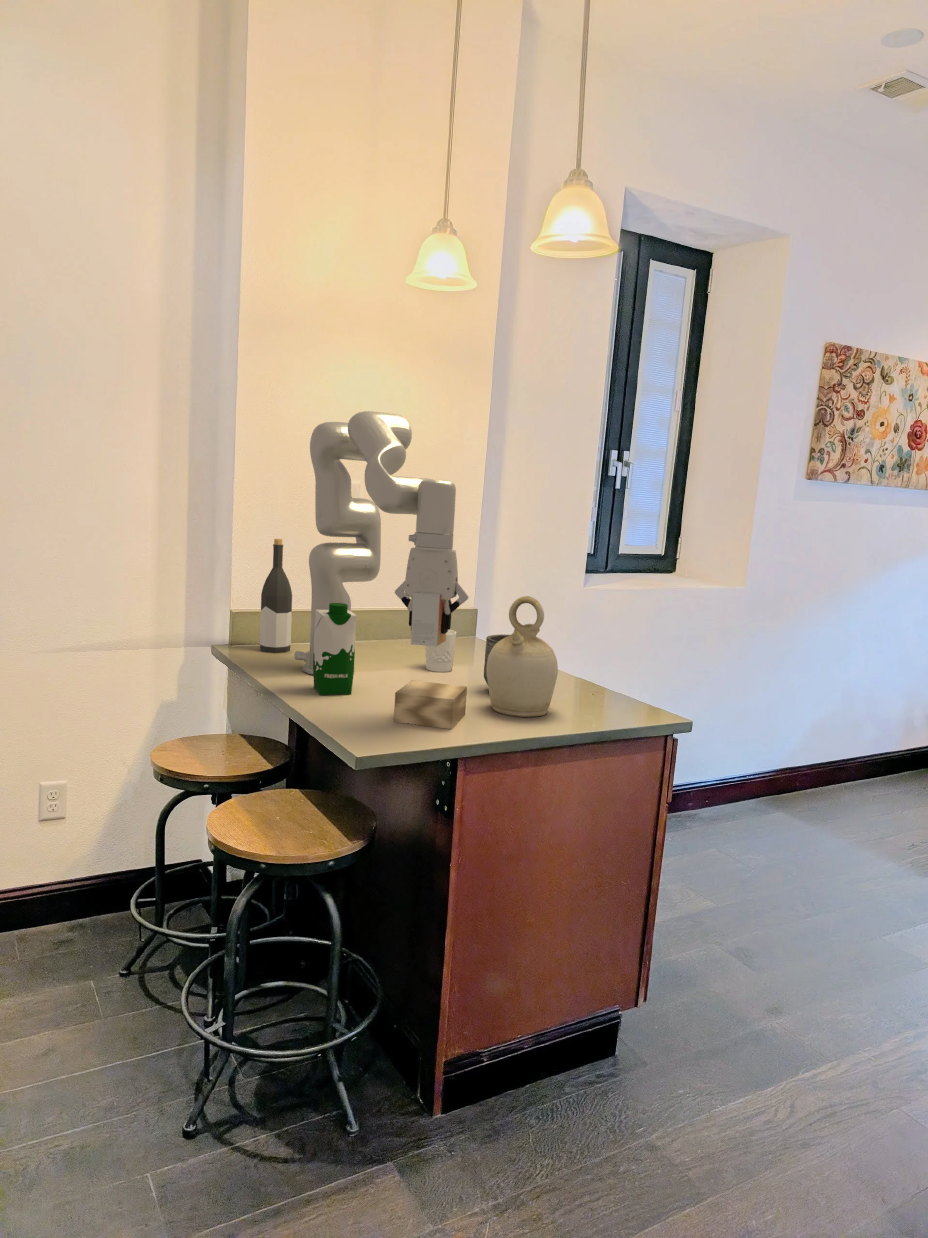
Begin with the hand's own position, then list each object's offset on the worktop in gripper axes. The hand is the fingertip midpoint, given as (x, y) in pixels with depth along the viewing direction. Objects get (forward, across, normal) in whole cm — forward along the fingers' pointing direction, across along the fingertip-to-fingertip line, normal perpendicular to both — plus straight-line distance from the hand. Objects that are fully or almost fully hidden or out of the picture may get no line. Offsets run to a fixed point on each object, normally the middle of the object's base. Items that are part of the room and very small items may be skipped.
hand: (429, 630), depth 179 cm
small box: (+3, 0, 0) cm, 3 cm away
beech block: (+18, +1, 0) cm, 18 cm away
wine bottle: (+18, -55, +46) cm, 74 cm away
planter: (+18, +12, +30) cm, 37 cm away
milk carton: (+18, -25, +12) cm, 33 cm away
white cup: (+18, -9, +46) cm, 50 cm away
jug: (+18, +17, +15) cm, 29 cm away
